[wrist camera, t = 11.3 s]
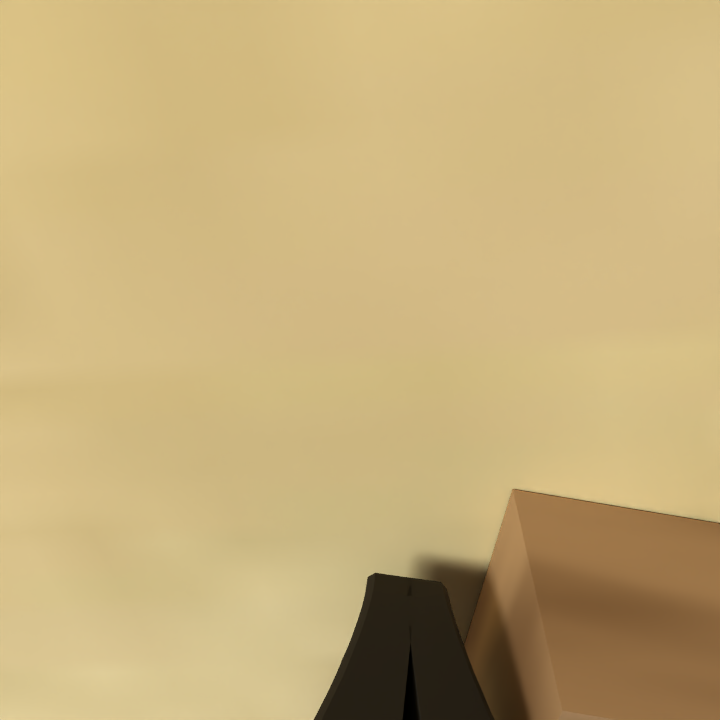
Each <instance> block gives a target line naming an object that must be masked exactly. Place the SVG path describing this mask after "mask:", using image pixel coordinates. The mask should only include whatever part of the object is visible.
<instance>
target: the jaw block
mask: <svg viewBox="0 0 720 720" xmlns="http://www.w3.org/2000/svg"><path fill="white" fill-rule="evenodd" d="M464 647H465V649H466V652H467V655H468V658H469V660H470V663H471V665H472V668H473V670H474V673H475V675H476V678H477V680H478V682H479V685H480V687H481V689H482V692H483V694H484V697H485V699H486V701H487V704H488V706H489V708H490V711H491V713H492V715H493V717H494V720H720V524H719V523H713V522H707V521H701V520H695V519H689V518H683V517H676V516H670V515H664V514H658V513H652V512H646V511H640V510H634V509H628V508H622V507H616V506H610V505H604V504H598V503H592V502H586V501H580V500H574V499H568V498H562V497H556V496H550V495H544V494H538V493H532V492H526V491H520V490H514V489H513V490H512V493H511V496H510V499H509V503H508V506H507V509H506V512H505V515H504V519H503V522H502V525H501V528H500V532H499V535H498V538H497V541H496V544H495V548H494V551H493V554H492V557H491V561H490V564H489V567H488V570H487V573H486V577H485V580H484V583H483V586H482V589H481V593H480V596H479V599H478V602H477V606H476V609H475V612H474V615H473V618H472V622H471V625H470V628H469V631H468V635H467V638H466V641H465V644H464Z"/></svg>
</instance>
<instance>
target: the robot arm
mask: <svg viewBox="0 0 720 720" xmlns="http://www.w3.org/2000/svg"><path fill="white" fill-rule="evenodd" d="M314 720H494V717H493V715H492V713H491V711H490V708H489V706H488V704H487V701H486V699H485V697H484V694H483V692H482V689H481V687H480V685H479V682H478V680H477V678H476V675H475V673H474V670H473V668H472V665H471V663H470V660H469V658H468V655H467V652H466V649H465V647H464V644H463V641H462V638H461V636H460V633H459V630H458V627H457V624H456V621H455V618H454V615H453V611H452V608H451V604H450V601H449V597H448V593H447V589H446V588H445V586H444V585H443V584H442V583H441V582H436V581H429V580H422V579H415V578H407V577H400V576H393V575H386V574H379V573H374V574H373V575H371V576H369V577H368V579H367V586H366V592H365V597H364V601H363V605H362V609H361V612H360V615H359V618H358V621H357V624H356V627H355V630H354V632H353V635H352V638H351V641H350V643H349V646H348V648H347V650H346V653H345V655H344V657H343V660H342V662H341V664H340V667H339V669H338V671H337V674H336V676H335V678H334V680H333V683H332V685H331V687H330V689H329V691H328V693H327V695H326V697H325V699H324V701H323V703H322V705H321V707H320V709H319V711H318V713H317V715H316V717H315V719H314Z"/></svg>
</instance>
